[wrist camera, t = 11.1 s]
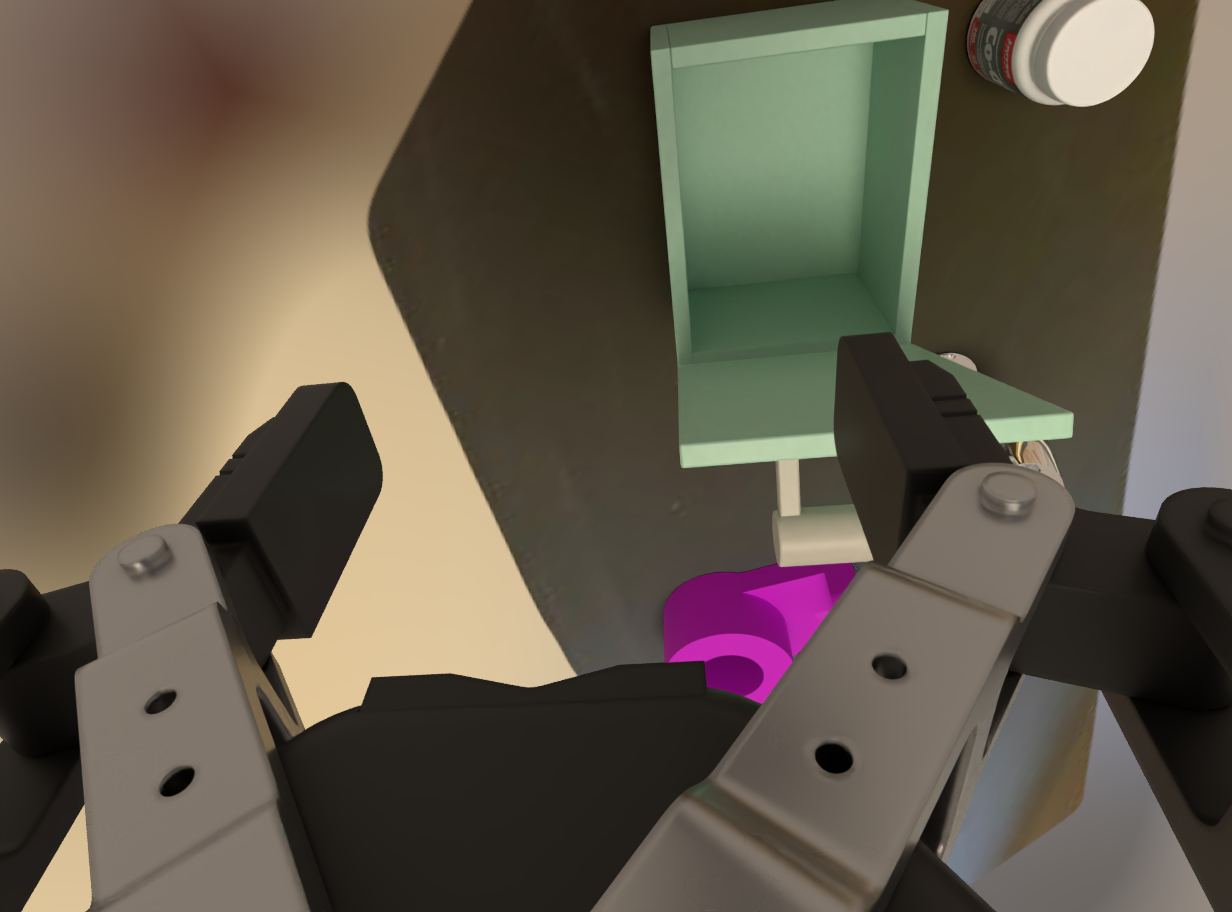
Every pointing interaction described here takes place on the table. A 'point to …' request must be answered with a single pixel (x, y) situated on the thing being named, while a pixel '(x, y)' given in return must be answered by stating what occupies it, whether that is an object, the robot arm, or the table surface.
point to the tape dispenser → (750, 622)
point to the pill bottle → (1061, 47)
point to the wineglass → (1021, 453)
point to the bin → (796, 172)
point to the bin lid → (818, 434)
